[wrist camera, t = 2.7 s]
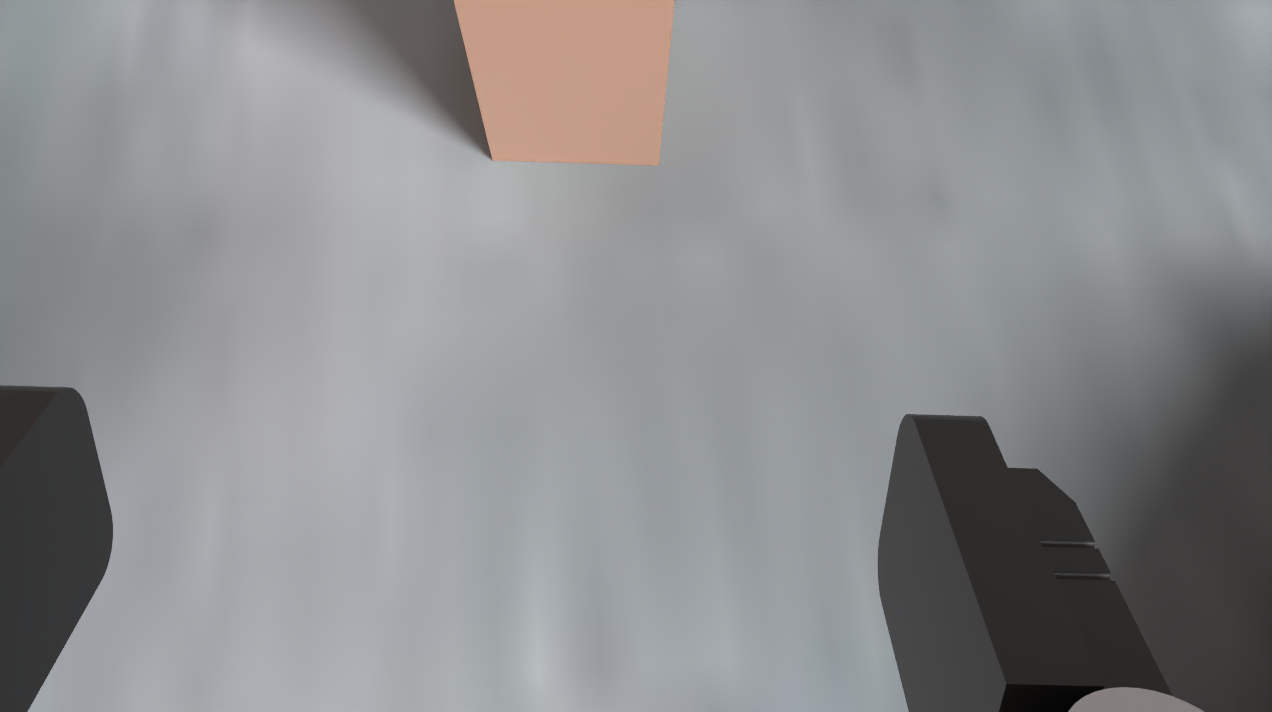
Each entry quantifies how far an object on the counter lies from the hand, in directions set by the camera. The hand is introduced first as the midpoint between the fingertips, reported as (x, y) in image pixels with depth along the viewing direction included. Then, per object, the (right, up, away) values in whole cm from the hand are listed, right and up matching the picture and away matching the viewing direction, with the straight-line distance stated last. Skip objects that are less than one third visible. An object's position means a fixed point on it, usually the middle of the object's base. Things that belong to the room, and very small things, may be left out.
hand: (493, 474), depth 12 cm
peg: (0, +8, +17) cm, 19 cm away
